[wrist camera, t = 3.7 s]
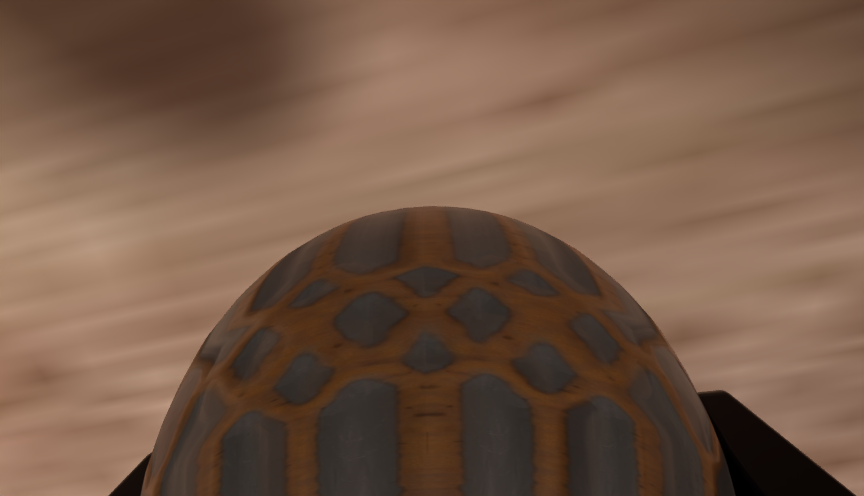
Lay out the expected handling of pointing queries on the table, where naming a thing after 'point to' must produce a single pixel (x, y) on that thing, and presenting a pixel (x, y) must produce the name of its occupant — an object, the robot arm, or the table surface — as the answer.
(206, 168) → the table surface
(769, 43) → the table surface
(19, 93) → the table surface
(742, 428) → the robot arm
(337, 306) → the vase
